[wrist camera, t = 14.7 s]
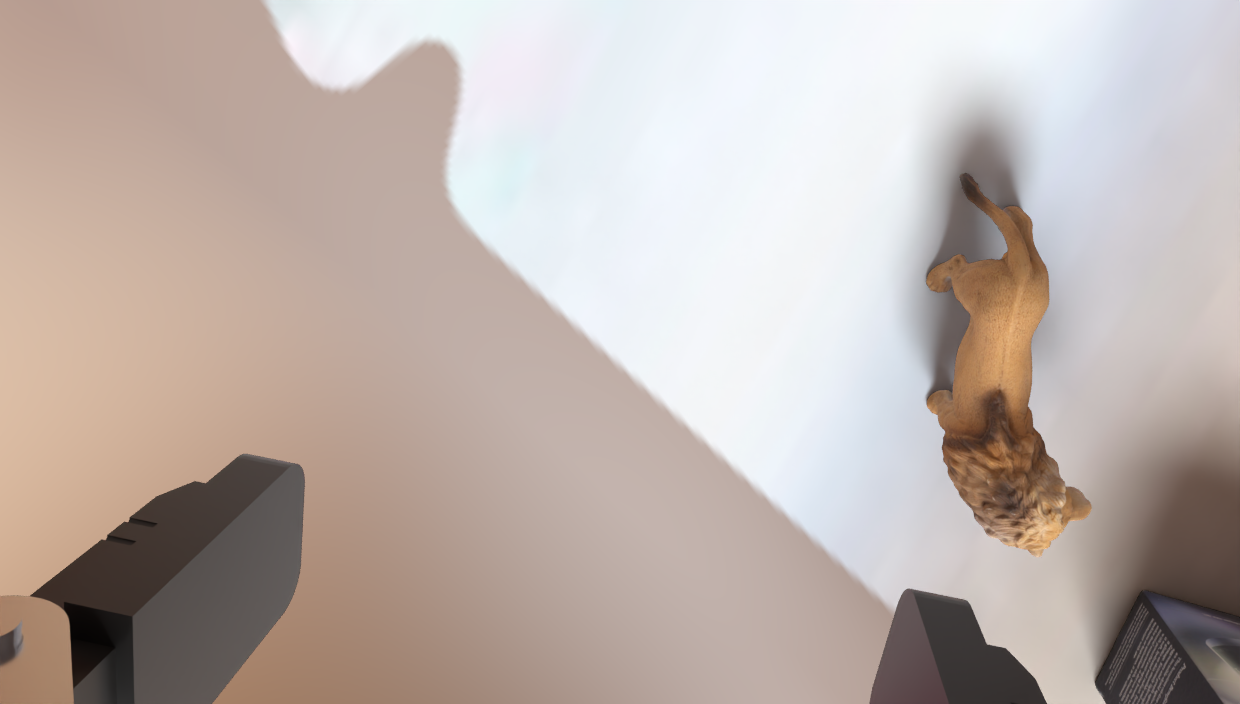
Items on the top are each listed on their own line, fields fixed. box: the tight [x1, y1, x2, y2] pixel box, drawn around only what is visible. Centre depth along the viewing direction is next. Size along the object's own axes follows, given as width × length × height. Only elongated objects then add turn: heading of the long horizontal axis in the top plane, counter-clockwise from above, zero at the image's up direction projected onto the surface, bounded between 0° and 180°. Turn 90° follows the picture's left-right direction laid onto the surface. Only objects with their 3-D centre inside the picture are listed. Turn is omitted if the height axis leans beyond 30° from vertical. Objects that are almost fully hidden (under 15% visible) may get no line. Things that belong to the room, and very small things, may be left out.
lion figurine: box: [926, 173, 1092, 557], centre depth 39 cm, size 15×5×9 cm, turn 12°
